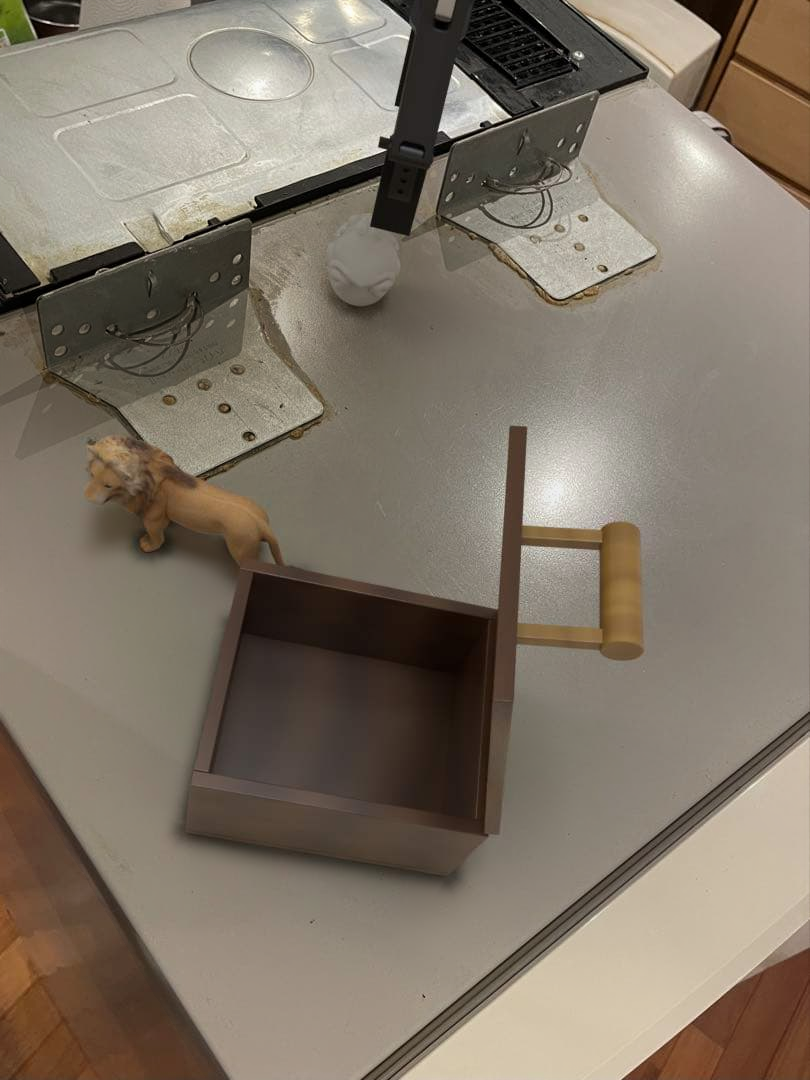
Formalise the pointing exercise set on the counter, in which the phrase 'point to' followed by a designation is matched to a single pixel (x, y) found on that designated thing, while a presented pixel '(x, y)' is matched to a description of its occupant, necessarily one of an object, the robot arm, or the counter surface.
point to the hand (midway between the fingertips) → (401, 165)
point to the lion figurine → (173, 497)
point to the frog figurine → (362, 261)
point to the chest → (348, 722)
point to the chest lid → (612, 638)
